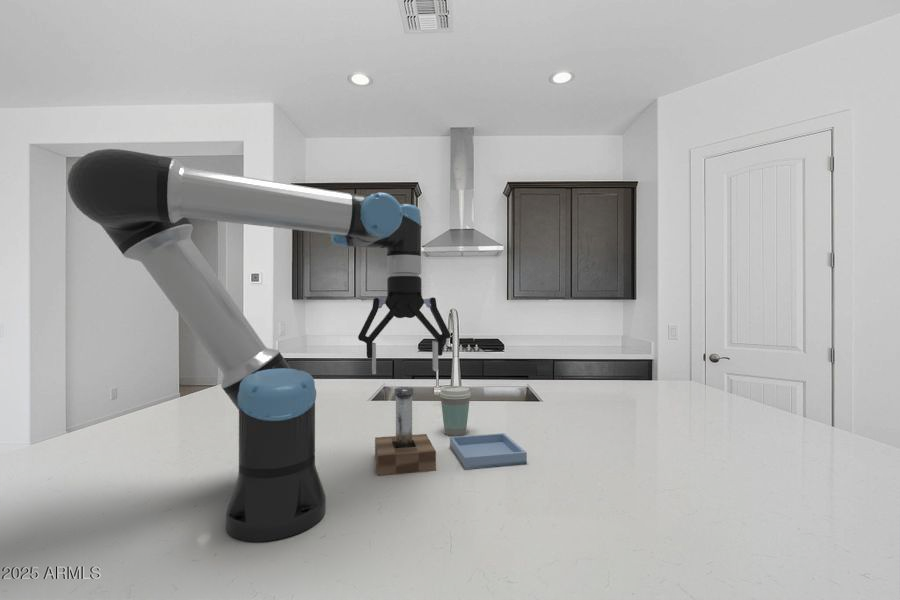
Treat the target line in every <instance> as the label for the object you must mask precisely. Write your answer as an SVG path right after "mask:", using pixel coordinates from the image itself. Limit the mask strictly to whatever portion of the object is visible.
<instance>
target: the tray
mask: <svg viewBox="0 0 900 600" xmlns="http://www.w3.org/2000/svg"><path fill="white" fill-rule="evenodd" d="M449 448H450V450H451V452H452V453H453V454H454V456H455V457H456V459H457V460H458V461H459V463H460V465H461V467H462V468H463V469H464V470H473V469H474V470H475V469H483V468H484V469H485V468H486V469H487V468H497V467H507V466H519V465H520V466H521V465H527V461H528V460H527V458H528V457H527V451H526V450H524V448H522V447H521V446H520V445H519V444H518V443H516V442H515V441H514V440H513V439H512V438H511V437H509V436H508V435H507V434H506V433H503V432H501V433H500V432H499V433H487V434H477V435H475V434H474V435H461V436H450V437H449Z"/></svg>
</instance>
